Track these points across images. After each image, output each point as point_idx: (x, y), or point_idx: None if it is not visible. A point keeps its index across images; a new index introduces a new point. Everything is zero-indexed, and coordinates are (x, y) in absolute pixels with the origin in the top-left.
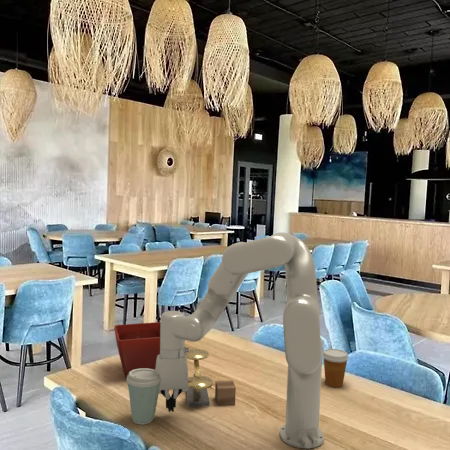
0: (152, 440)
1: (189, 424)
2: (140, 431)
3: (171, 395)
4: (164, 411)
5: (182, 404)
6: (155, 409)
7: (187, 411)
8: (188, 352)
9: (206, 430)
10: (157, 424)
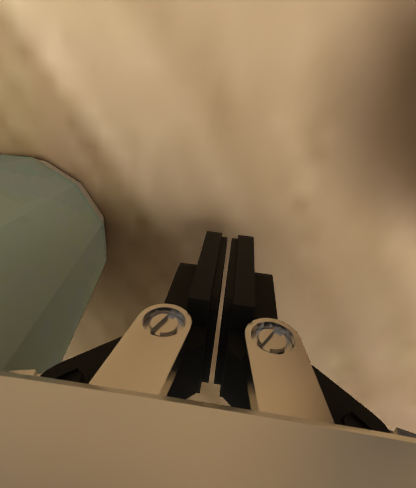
0: None
1: (318, 353)
2: None
3: (232, 311)
4: (199, 148)
5: (410, 41)
6: (86, 303)
7: (386, 200)
8: None
9: (381, 420)
10: (133, 302)
